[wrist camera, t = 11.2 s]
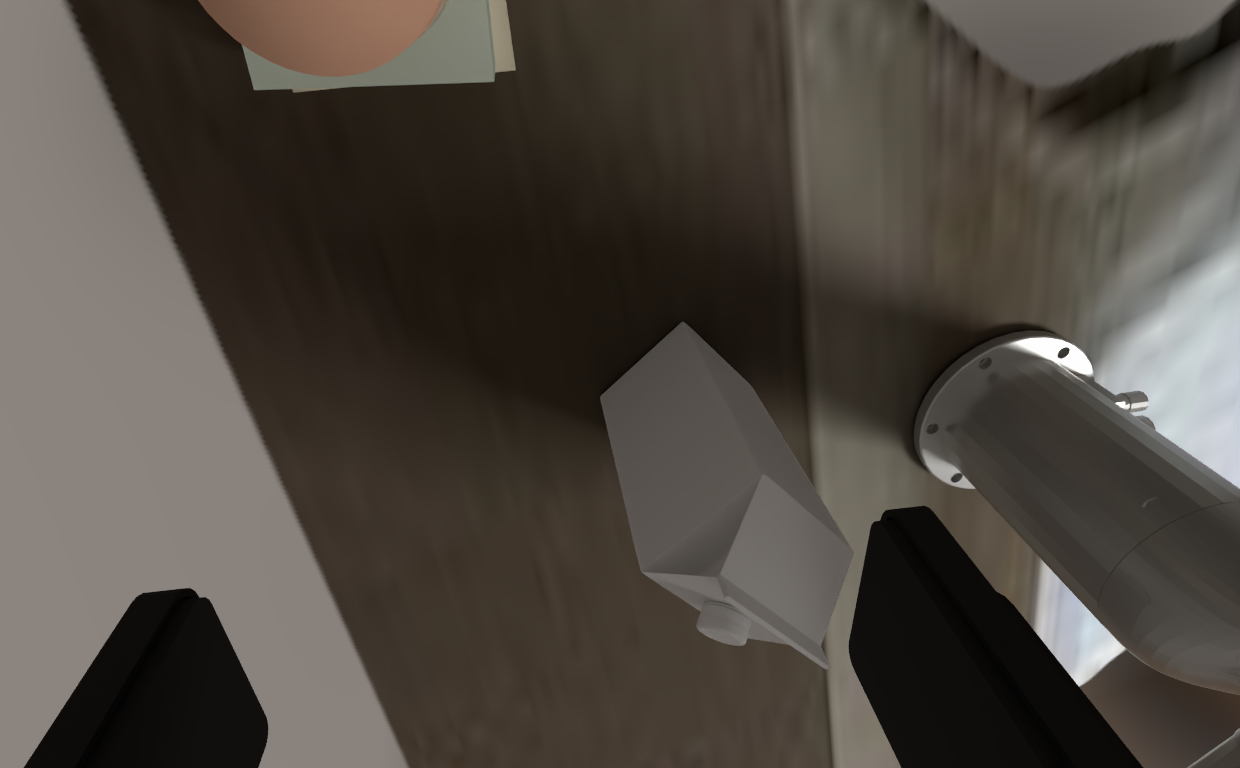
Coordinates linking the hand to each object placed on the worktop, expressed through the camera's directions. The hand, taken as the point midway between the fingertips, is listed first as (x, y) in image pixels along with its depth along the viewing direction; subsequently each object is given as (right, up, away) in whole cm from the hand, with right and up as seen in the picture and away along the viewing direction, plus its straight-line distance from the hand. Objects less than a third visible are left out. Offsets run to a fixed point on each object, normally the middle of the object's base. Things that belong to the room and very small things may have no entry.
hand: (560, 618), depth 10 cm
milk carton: (+4, +3, +34) cm, 34 cm away
